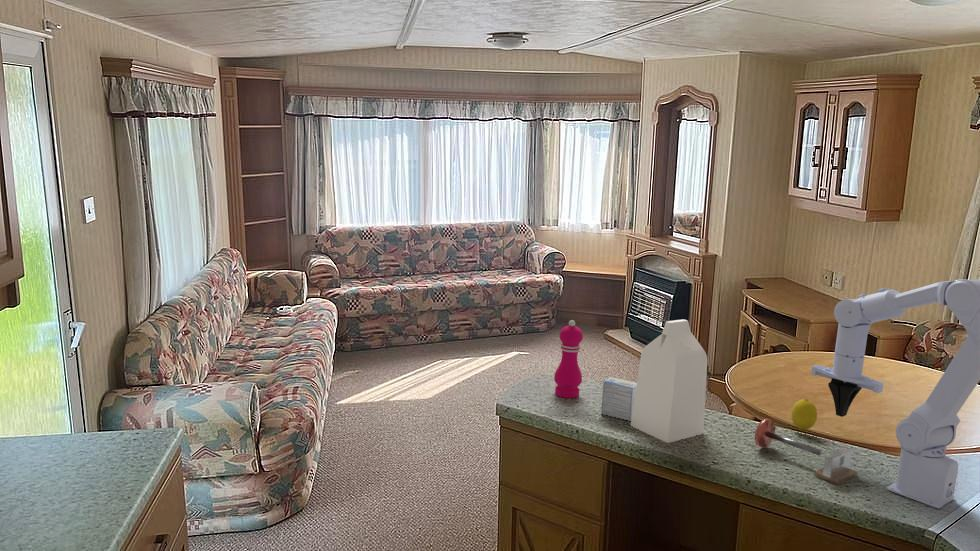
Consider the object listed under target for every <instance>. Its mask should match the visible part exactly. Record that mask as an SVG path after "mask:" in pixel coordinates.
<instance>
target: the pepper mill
mask: <svg viewBox="0 0 980 551" xmlns="http://www.w3.org/2000/svg"><path fill="white" fill-rule="evenodd" d="M575 321H576V320H573V319H571V320H569V321H568V325H566V326H564V327H563V328H561V330H560V331H559V340H560V341H561V343H560V350H561V353H562V354H561V359H560V363H559V365H558V366H557V369H556V370H555V372H554V375H553V376H554V377H553V379H554V382H555V384H556V385H555V390H554V393H555V395H556V397H559V398H562V397H563V399H575V397H576V398H578V397H579V396H580V388H579V386H581V384H582V382H583V375H582V372H581V368H580V367H579V362H578V354H579V352H580V351H581V348H580V347H581V345H580V343H582V341H583V339H584V337H583V336H584V334H583V331H582V329H581V328H579V327H578V326H576V322H575Z"/></svg>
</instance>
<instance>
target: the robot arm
mask: <svg viewBox="0 0 980 551" xmlns="http://www.w3.org/2000/svg"><path fill="white" fill-rule="evenodd" d="M877 291H878V292H875V293H871V294H867V293H866V294H865V293H864V294H859V295H858V297H857V298H853V299H852V298H844V299H842V300H840V301H839V302H837V303H836V305H835V306H834V309H833V316H834V318H835V321H836V322H837V323H838V324H837V334H836V340H835V348H834V355H833V361H832V362H833V364H832V367H827V366H823V365H818V364H816V365H812V366H811V369H810V370H811V372H810V375H813V376H819V377H822V378H826V379H829V380H830V382H828V389H829V391H830V393H831V395H832V399H833V402H834V407H835V408H834V409H835V415H836V416H839V417H841V418H843V417H845V416H847V415H848V411H849V409H850V408H851V404H852V403H853V401H854V399H855V398H856V397H857V395H858V394H859V393H860V392H861V390H862V388H863V389H866V390H870V391H871V392H874V393H877V394H879V393H882V392H883V391H884V385H885V384H884V382H883V381H878V380H876V379H873V378H870V377H868V376H865V375H863V370H864V369H863V368H864V363H865V362H864V361H865V355H866V347H867V340H868V334H869V333H870V330H871V326H872V325H873V324H874V323H878V322H883V321H888V320H891V319H897V318H900V317H903V315H904V314H905V312H906V310H907V309H911V308H916V307H922V306H926V305H932V304H937V303H938V304H939V305H940V306H942V307H945V306H946V307H948V308H949V310H950V311H951V312H952V313H953V315H954V316H955V317H956V318H957V320H958V321H959V322H960V323H961V325H962V326H963V328H964V329H965V331H966V333H967V336H966V338H965V340H964V341H963V343H962V345H961V346H960V347H959V349H958V351H957V352H956V354H955V355H954V357H953V358H952V360H951V362H950V363H949V365H948V366H947V367H946V370H945V371H944V372H943V373H942V375H941V376H940V379H939V380H938V382H937V383H936V385H935V386H934V388H933V390H932V391H931V393H930V394H929V396H928V397H927V399H926V400H925V402H923V403H921V405H919V406H917V407H916V408H915V409H914V410H912V411H911V412H910V414H909V415H908V417H906V418H904V419H902V420H900V421H899V422H898V423H897V425H896V428H895V437H896V440H897V442H898V443H899V445H900V446H899V447H900V449H901V450H900V456H899V460H898V461H899V463H898V468H897V473H896V480H895V482H894V483H892V484H890V485H888V486H886V490H888V491H890V492H893V493H895V494H898V495H901V496H902V497H906V498H909V499H911V500H915V501H917V502H919V503H922V504H925V505H928V506H930V507H932V508H935V509H941V508H942V507H944V506H945V505H946V504H948V503H950V502H951V501H953V500H955V490H956V483H957V477H958V473H959V472H958V471H959V464H958V461H957V460H955V459H952V458H950V456H948V455H946V450H947V446H949V445H951V444H952V443H953V442H954V441H955V439H956V436H957V435H956V434H957V428H958V426H959V424H960V422H961V419H960V418H959V416H958V415H957V414H958V413H959V412H960V410H961V409H962V407H963V406H964V404H965V403H966V402H967V400H968V398H969V397H970V395H971V394H972V392H973V391H974V390H975V388H976V387H977V386H978V384H979V382H980V278H977V279H967V278H965V279H964V278H960V279H956V280H947V281H939V282H935V283H931V284H928V285H925V286H922V287H917V288H915V289H911V290H907V291H905V292H904V291H903V292H899V291H898V290H896V289H893V288H891V289H889V288H888V287H882V288H879V289H878V290H877Z"/></svg>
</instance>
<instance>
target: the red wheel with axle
mask: <svg viewBox="0 0 980 551" xmlns="http://www.w3.org/2000/svg"><path fill="white" fill-rule="evenodd" d="M774 440H775V441H778V442H780V443H783V444H786V445H789V446H792V447H795V448H796V449H800V450H803V451H805V452H808V453H811V454H813V455H816V456H821V455H822V450H821V449H818V448H816V447H814V446H813V447H812V446H810V445H807V444H805V443H802V442H799V441H797V440H794V439H791V438H788V437H786V436H782V435H780V434H777V433H776V424H775V422H774V420H772V419H770V418H763V419H762V420H761V421H760V422H759V423H758V425H757V427H756V429H755V433H754V442H755V445H756V446H758V447H760V448H762V449H766V448H768V447H769V446H770V444H772V442H773V441H774Z"/></svg>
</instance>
